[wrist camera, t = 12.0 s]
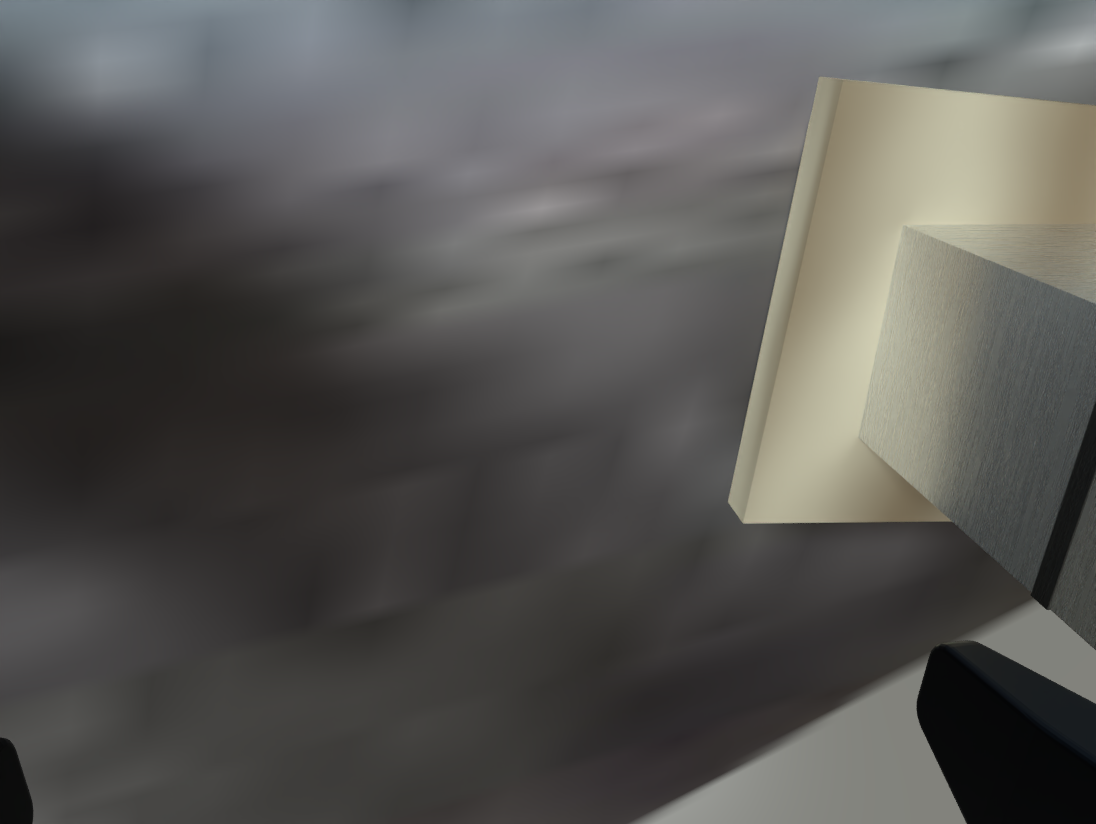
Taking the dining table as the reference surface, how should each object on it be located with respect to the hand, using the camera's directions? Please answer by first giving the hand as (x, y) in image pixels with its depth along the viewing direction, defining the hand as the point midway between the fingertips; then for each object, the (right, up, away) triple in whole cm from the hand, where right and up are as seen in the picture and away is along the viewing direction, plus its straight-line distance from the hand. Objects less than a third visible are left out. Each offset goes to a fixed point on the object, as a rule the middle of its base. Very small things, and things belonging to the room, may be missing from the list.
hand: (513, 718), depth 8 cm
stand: (+10, +6, +14) cm, 18 cm away
